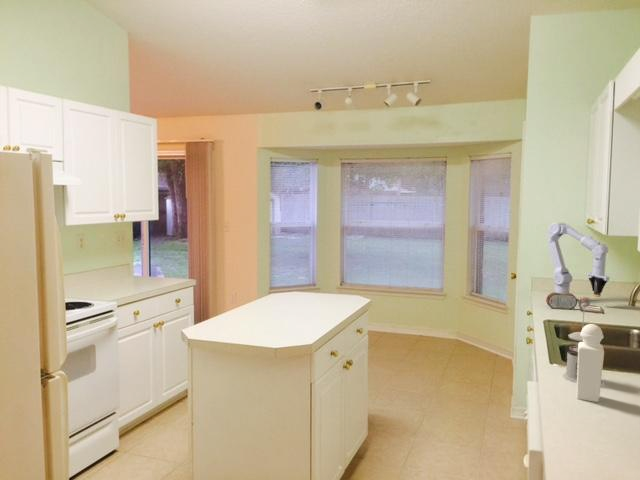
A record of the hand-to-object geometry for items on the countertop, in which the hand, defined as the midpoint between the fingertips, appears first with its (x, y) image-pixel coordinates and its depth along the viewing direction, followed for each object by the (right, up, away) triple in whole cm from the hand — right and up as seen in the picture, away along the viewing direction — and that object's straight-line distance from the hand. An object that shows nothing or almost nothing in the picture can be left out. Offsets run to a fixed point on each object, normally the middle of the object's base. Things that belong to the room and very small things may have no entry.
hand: (597, 291), depth 272 cm
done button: (-6, -6, +2) cm, 9 cm away
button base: (-6, -8, +2) cm, 10 cm away
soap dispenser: (-70, -19, -122) cm, 142 cm away
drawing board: (-7, -9, -7) cm, 14 cm away
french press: (-63, -18, -107) cm, 125 cm away
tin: (-22, -9, -5) cm, 24 cm away
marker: (0, -2, 0) cm, 2 cm away
